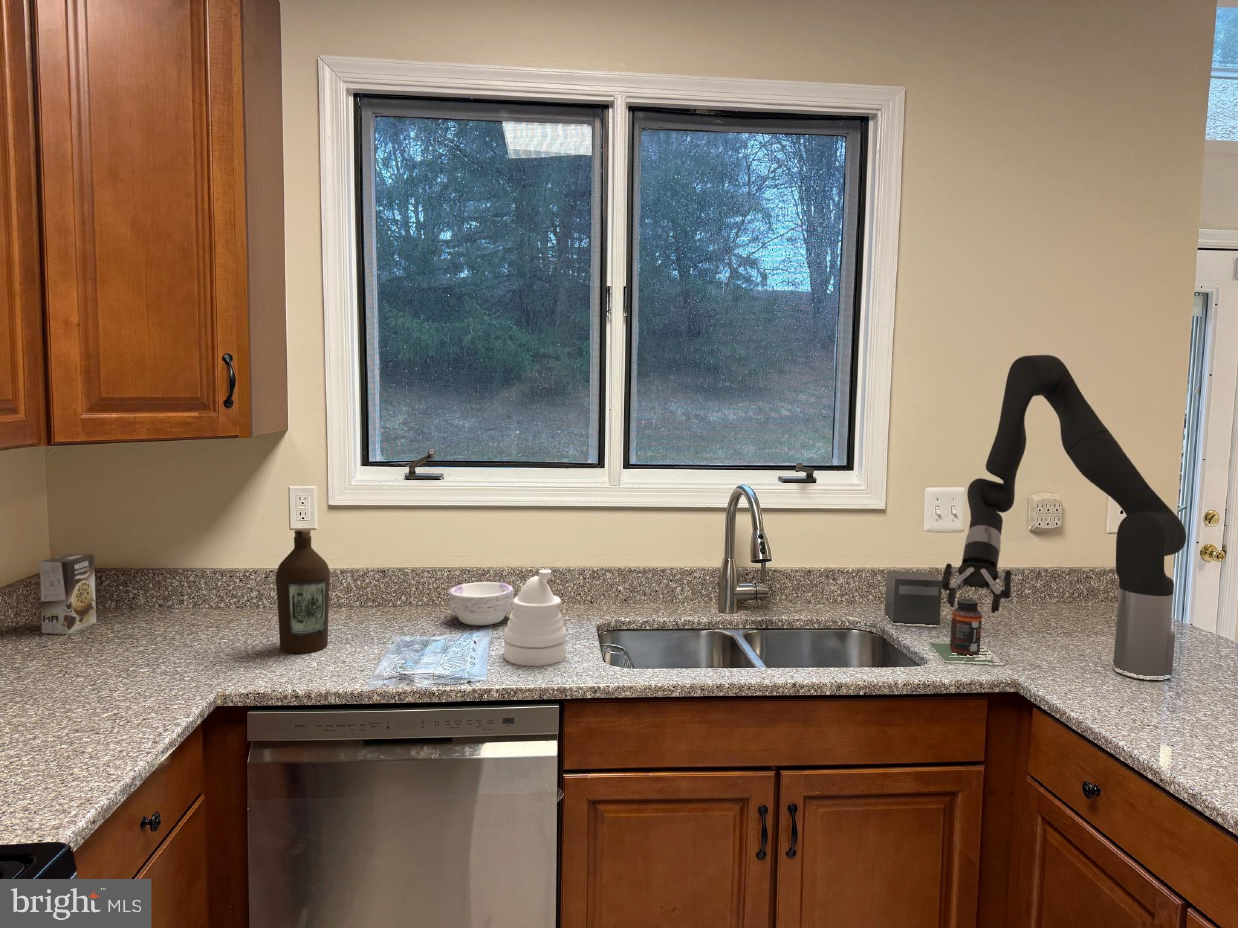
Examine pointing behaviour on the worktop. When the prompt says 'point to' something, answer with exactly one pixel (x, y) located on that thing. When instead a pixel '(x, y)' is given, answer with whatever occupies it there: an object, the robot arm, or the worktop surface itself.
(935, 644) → the sage mat
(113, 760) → the worktop surface
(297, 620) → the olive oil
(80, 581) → the coffee box
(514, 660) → the honey pot
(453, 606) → the white and purple bowl
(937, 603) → the charcoal unit
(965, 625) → the supplement bottle
